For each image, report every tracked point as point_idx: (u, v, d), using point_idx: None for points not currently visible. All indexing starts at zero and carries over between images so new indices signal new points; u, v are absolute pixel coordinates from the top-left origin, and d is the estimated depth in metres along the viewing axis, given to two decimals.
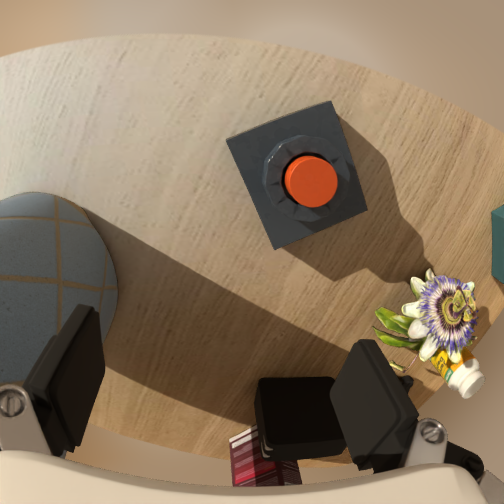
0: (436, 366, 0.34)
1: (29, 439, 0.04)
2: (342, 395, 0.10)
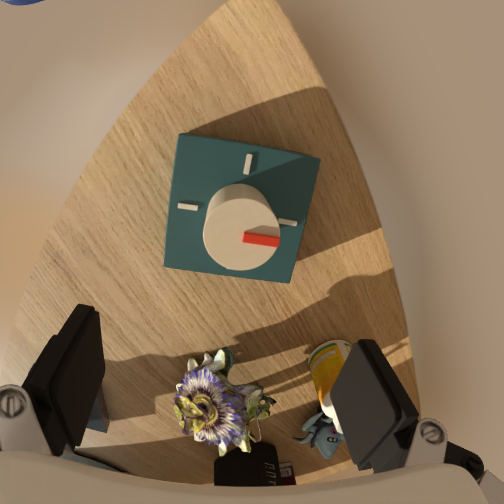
0: None
1: (29, 439, 0.04)
2: (342, 395, 0.10)
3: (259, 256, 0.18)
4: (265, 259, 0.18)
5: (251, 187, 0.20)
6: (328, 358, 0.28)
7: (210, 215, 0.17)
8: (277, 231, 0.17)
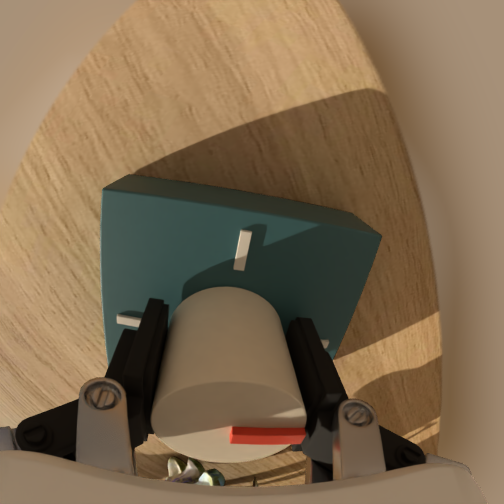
0: None
1: (111, 435, 0.05)
2: None
3: (263, 450, 0.08)
4: (273, 451, 0.08)
5: (249, 298, 0.10)
6: None
7: (159, 403, 0.07)
8: (301, 421, 0.07)
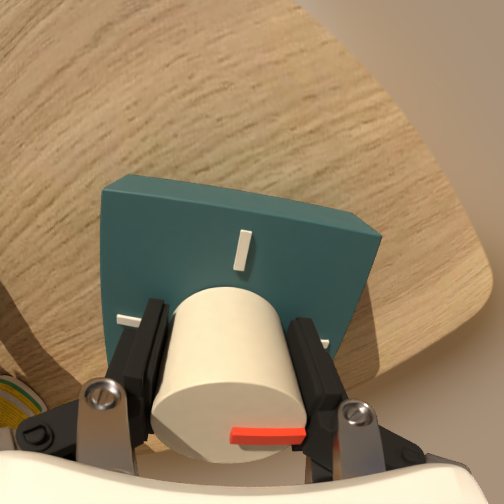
0: None
1: (111, 435, 0.05)
2: None
3: (263, 450, 0.08)
4: (273, 451, 0.08)
5: (249, 298, 0.10)
6: (22, 414, 0.14)
7: (158, 404, 0.07)
8: (301, 421, 0.07)
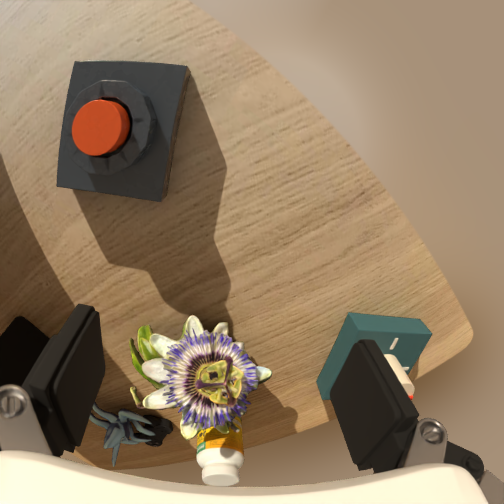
0: None
1: (29, 439, 0.04)
2: (342, 395, 0.10)
3: None
4: None
5: (393, 358, 0.27)
6: (238, 426, 0.31)
7: None
8: (412, 393, 0.25)
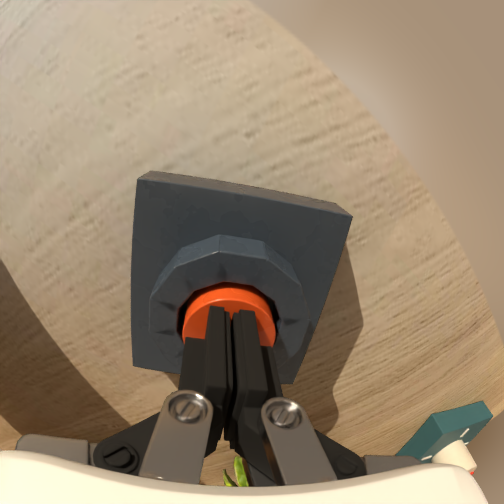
0: None
1: (187, 448, 0.05)
2: None
3: None
4: None
5: (461, 443, 0.22)
6: None
7: None
8: (473, 470, 0.20)
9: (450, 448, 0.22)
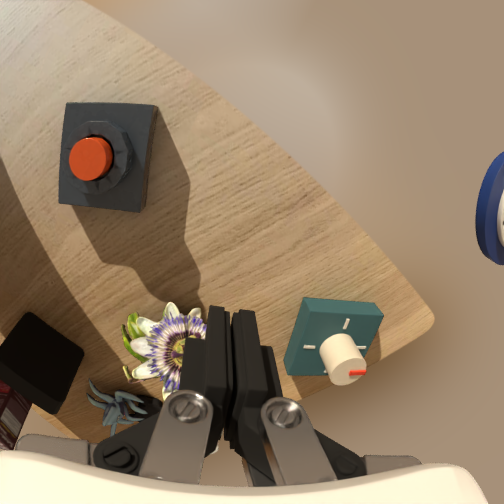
0: None
1: (187, 448, 0.05)
2: None
3: (354, 378, 0.31)
4: (356, 379, 0.31)
5: (347, 336, 0.34)
6: None
7: (336, 366, 0.30)
8: (365, 368, 0.31)
9: (333, 338, 0.33)
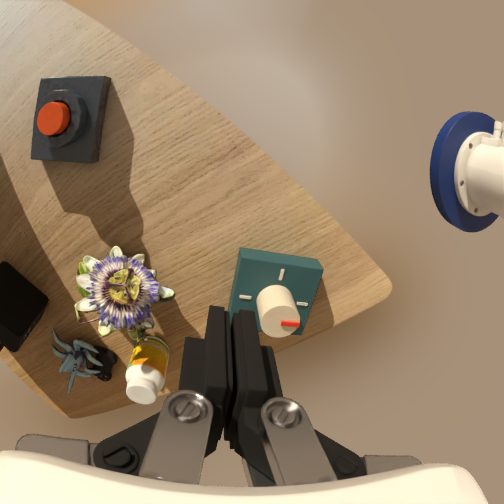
0: None
1: (187, 448, 0.05)
2: None
3: (288, 331, 0.33)
4: (291, 332, 0.33)
5: (283, 288, 0.36)
6: (163, 353, 0.39)
7: (265, 313, 0.32)
8: (298, 319, 0.33)
9: (267, 289, 0.35)
